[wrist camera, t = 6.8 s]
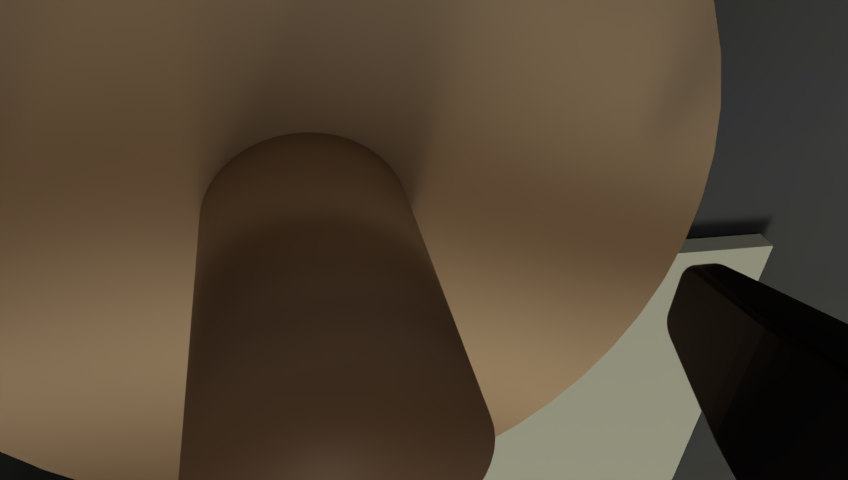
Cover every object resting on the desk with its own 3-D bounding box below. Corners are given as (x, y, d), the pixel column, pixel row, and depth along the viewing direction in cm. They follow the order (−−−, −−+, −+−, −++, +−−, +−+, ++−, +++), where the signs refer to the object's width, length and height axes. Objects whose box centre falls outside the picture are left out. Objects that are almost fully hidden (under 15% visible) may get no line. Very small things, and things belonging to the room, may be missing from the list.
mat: (639, 524, 27) (646, 538, 27) (280, 586, 24) (281, 603, 24) (759, 233, 20) (773, 245, 19) (251, 272, 16) (252, 288, 16)
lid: (592, 406, 15) (728, 658, 11) (-23, 490, 12) (-152, 860, 8) (793, -288, 8) (1370, -327, 4) (-476, -417, 6) (-2495, -897, 1)
